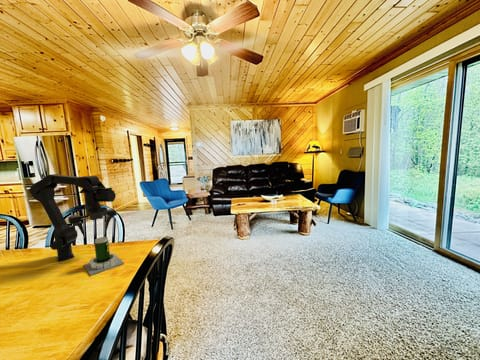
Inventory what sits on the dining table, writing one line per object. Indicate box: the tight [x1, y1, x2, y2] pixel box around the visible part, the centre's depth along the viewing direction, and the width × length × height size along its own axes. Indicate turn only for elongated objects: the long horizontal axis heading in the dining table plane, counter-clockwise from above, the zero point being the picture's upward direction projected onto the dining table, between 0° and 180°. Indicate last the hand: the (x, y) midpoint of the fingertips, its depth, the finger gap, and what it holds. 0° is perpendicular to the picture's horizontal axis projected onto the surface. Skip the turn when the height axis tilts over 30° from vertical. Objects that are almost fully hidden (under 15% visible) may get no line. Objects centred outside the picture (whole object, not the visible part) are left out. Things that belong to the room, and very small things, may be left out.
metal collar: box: [88, 252, 118, 270], centre depth 97 cm, size 10×10×2 cm
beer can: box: [94, 236, 111, 263], centre depth 96 cm, size 5×5×12 cm
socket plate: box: [83, 256, 125, 277], centre depth 97 cm, size 13×13×1 cm
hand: (95, 232), depth 103 cm, fingers open, 9 cm apart
